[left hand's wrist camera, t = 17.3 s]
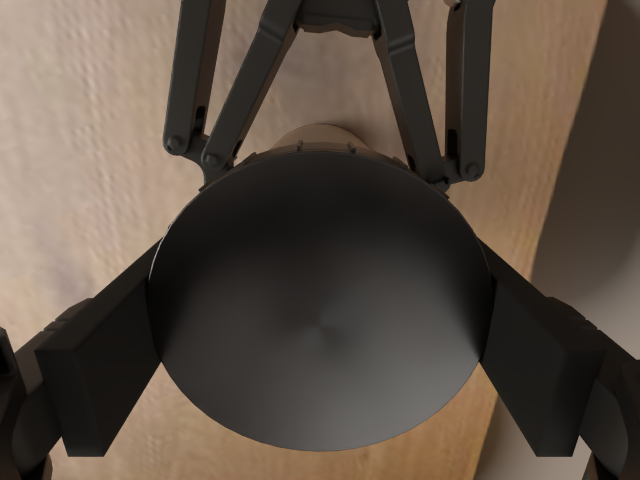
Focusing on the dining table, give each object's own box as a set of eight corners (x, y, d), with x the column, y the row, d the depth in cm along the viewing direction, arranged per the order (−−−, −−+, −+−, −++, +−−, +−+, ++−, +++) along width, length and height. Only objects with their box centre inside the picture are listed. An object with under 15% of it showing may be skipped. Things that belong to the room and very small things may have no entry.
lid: (471, 119, 10) (506, 124, 8) (464, 393, 13) (487, 441, 11) (135, 158, 10) (95, 171, 9) (208, 415, 14) (191, 465, 12)
